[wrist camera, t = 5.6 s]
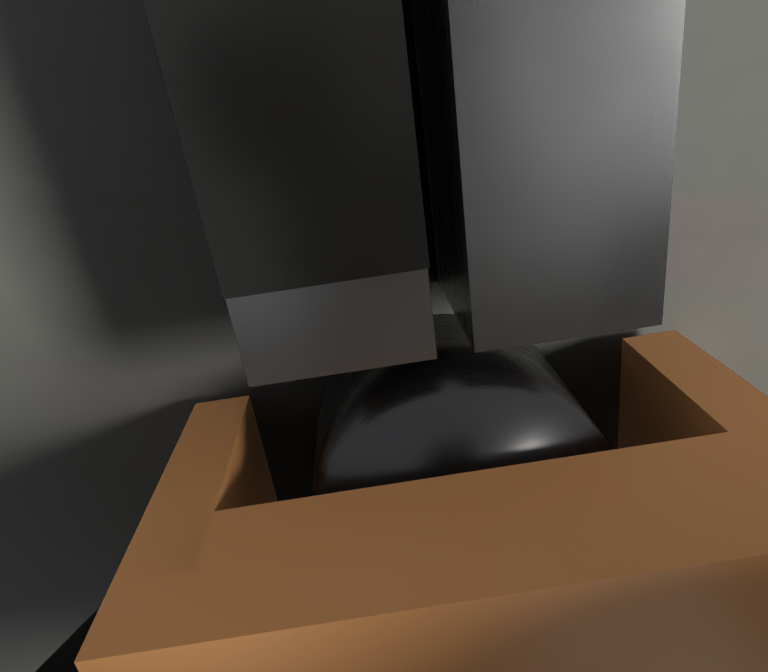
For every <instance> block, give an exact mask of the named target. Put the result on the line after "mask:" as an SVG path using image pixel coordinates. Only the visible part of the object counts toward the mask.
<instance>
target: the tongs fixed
mask: <svg viewBox="0 0 768 672" xmlns="http://www.w3.org/2000/svg"><path fill="white" fill-rule="evenodd" d="M685 4H686V0H411V9H412V19H413V29H414V39H415V49H416V59H417V69H418V79H419V89H420V99H421V109H422V119H423V129H424V139H425V149H426V159H427V169H428V179H429V189H430V199H431V209H432V219H433V229H434V239H435V249H436V259H437V269H438V279H439V283H440V285H441V287H442V289H443V291H444V293H445V295H446V297H447V299H448V301H449V303H450V305H451V307H452V309H453V311H454V313H455V315H451V314H444V315H433V323H434V332H435V342H436V351H437V359H432V360H425V361H419V362H412V363H406V364H399V365H393V366H386V367H380V368H373V369H366V370H360V371H353V372H347V373H340V374H334V376H333V377H332V379H331V381H330V383H329V385H328V387H327V389H326V391H325V393H324V396H323V399H322V402H321V405H320V410H319V416H318V424H317V438H316V451H315V465H314V478H313V492H312V496H316V495H323V494H329V493H335V492H342V491H348V490H355V489H361V488H368V487H374V486H381V485H387V484H394V483H400V482H407V481H413V480H420V479H426V478H433V477H439V476H446V475H452V474H459V473H465V472H472V471H478V470H485V469H491V468H497V467H504V466H510V465H517V464H523V463H530V462H536V461H543V460H549V459H556V458H562V457H569V456H575V455H582V454H588V453H595V452H601V451H608V450H614V448H613V447H612V445H611V444H610V443H609V441H608V440H607V439H606V437H605V436H604V435H603V434H602V432H601V431H600V430H599V428H598V427H597V426H596V424H595V423H594V422H593V420H592V419H591V418H590V416H589V415H588V414H587V413H586V411H585V410H584V409H583V407H582V406H581V405H580V403H579V402H578V401H577V399H576V398H575V397H574V395H573V394H572V393H571V392H570V390H569V389H568V388H567V386H566V385H565V384H564V382H563V381H562V380H561V378H560V377H559V376H558V374H557V373H556V372H555V371H554V369H553V368H552V367H551V365H550V364H549V363H548V361H547V360H546V359H545V358H544V356H543V355H542V354H541V353H540V352H539V351H538V349H537V348H536V347H535V346H534V345H533V344H537V343H543V342H550V341H557V340H563V339H570V338H576V337H583V336H589V335H596V334H602V333H609V332H616V331H622V330H629V329H635V328H642V327H648V326H655V325H661V324H662V316H663V303H664V289H665V276H666V262H667V248H668V235H669V221H670V208H671V194H672V181H673V167H674V154H675V140H676V126H677V113H678V99H679V86H680V72H681V59H682V45H683V31H684V18H685Z"/></svg>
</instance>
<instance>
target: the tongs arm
mask: <svg viewBox="0 0 768 672" xmlns="http://www.w3.org/2000/svg"><path fill="white" fill-rule="evenodd" d="M142 2H143V5H144V9H145V13H146V16H147V20H148V24H149V28H150V31H151V35H152V39H153V42H154V46H155V50H156V53H157V57H158V61H159V65H160V68H161V72H162V76H163V79H164V83H165V87H166V91H167V94H168V98H169V102H170V105H171V109H172V113H173V117H174V120H175V124H176V128H177V131H178V135H179V139H180V143H181V146H182V150H183V154H184V157H185V161H186V165H187V169H188V172H189V176H190V180H191V183H192V187H193V191H194V194H195V198H196V202H197V206H198V209H199V213H200V217H201V220H202V224H203V228H204V232H205V235H206V239H207V243H208V246H209V250H210V254H211V258H212V261H213V265H214V269H215V272H216V276H217V280H218V284H219V287H220V291H221V295H222V298H223V300H224V299H226V303H227V307H228V311H229V314H230V318H231V322H232V326H233V329H234V333H235V337H236V341H237V344H238V348H239V352H240V356H241V359H242V363H243V367H244V371H245V374H246V378H247V382H248V386H249V387H255V386H262V385H268V384H275V383H281V382H288V381H294V380H301V379H307V378H314V377H321V376H327V375H334V374H340V373H347V372H353V371H360V370H366V369H373V368H380V367H386V366H393V365H399V364H406V363H412V362H419V361H425V360H432V359H437V351H436V342H435V332H434V323H433V314H432V304H431V295H430V286H429V276H428V269H429V268H430V265H429V255H428V246H427V236H426V227H425V217H424V208H423V198H422V189H421V179H420V170H419V160H418V151H417V142H416V132H415V123H414V113H413V104H412V94H411V85H410V75H409V66H408V56H407V47H406V38H405V28H404V19H403V9H402V0H142Z"/></svg>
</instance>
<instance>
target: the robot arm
mask: <svg viewBox="0 0 768 672" xmlns="http://www.w3.org/2000/svg"><path fill="white" fill-rule="evenodd" d="M99 608H100V607H99ZM99 608H98V609H97V610H96V611H95V612H94V613H93V614H92V615H91V616H90V617H89V618H88V619H87V620H86V621H85V622H84V623H83V624H82V625H81V626H80V627H79V628H78V629H77V630H76V631H75V632H74V633H73V634H72V635H71V636H70V637H69V638H68V639H67V640H66V641H65V642H64V643H63V644H62V645H61V646H60V647H59V648H58V649H57V650H56V651H55V652H54V653H53V654H52V655H51V656H50V657H49V658H48V659H47V660H46V661H45V662H44V663H43V664H42V665H41V666H40V667H39V668H38V669H37V670H36V671H35V672H79V671H78V669H77V667H76V665H75V664H74V661H75V659H76V657H77V655H78V653H79V651H80V648H81V646H82V644H83V642H84V640H85V638H86V636H87V634H88V631H89V629H90V627H91V625H92V623H93V621H94V619H95V617H96V614H97V612H98V610H99Z"/></svg>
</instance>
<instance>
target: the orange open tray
mask: <svg viewBox="0 0 768 672" xmlns="http://www.w3.org/2000/svg"><path fill="white" fill-rule="evenodd" d="M74 664H75V665H76V667H77V669H78V671H79V672H768V396H766V395H765V394H764V393H762V392H761V391H759V390H758V389H757V388H755V387H754V386H752V385H751V384H750V383H748V382H747V381H745V380H744V379H743V378H741V377H740V376H738V375H737V374H736V373H734V372H733V371H732V370H730V369H729V368H727V367H726V366H725V365H723V364H722V363H720V362H719V361H718V360H716V359H715V358H713V357H712V356H711V355H709V354H708V353H706V352H705V351H704V350H702V349H701V348H699V347H698V346H697V345H695V344H694V343H692V342H691V341H690V340H688V339H687V338H685V337H684V336H683V335H681V334H680V333H678V332H677V331H676V330H674V331H667V332H661V333H654V334H648V335H641V336H634V337H628V338H622V358H621V381H620V404H619V428H618V449H614V450H608V451H601V452H595V453H588V454H582V455H575V456H569V457H562V458H556V459H549V460H543V461H536V462H530V463H523V464H517V465H510V466H504V467H497V468H491V469H485V470H478V471H472V472H465V473H459V474H452V475H446V476H439V477H433V478H426V479H420V480H413V481H407V482H400V483H394V484H387V485H381V486H374V487H368V488H361V489H355V490H348V491H342V492H335V493H329V494H323V495H316V496H310V497H303V498H297V499H290V500H284V501H278V500H277V497H276V493H275V489H274V485H273V482H272V478H271V474H270V471H269V467H268V463H267V459H266V456H265V452H264V448H263V445H262V441H261V437H260V433H259V430H258V426H257V422H256V418H255V415H254V411H253V407H252V404H251V400H250V396H249V395H248V396H241V397H235V398H228V399H222V400H215V401H209V402H202V403H196V404H195V406H194V408H193V410H192V412H191V414H190V416H189V419H188V421H187V423H186V425H185V427H184V429H183V431H182V434H181V436H180V438H179V440H178V442H177V444H176V446H175V448H174V451H173V453H172V455H171V457H170V459H169V461H168V463H167V465H166V468H165V470H164V472H163V474H162V476H161V478H160V480H159V482H158V485H157V487H156V489H155V491H154V493H153V495H152V497H151V499H150V502H149V504H148V506H147V508H146V510H145V512H144V514H143V517H142V519H141V521H140V523H139V525H138V527H137V529H136V531H135V534H134V536H133V538H132V540H131V542H130V544H129V546H128V548H127V551H126V553H125V555H124V557H123V559H122V561H121V563H120V565H119V568H118V570H117V572H116V574H115V576H114V578H113V580H112V582H111V585H110V587H109V589H108V591H107V593H106V595H105V597H104V599H103V602H102V604H101V606H100V608H99V610H98V612H97V614H96V617H95V619H94V621H93V623H92V625H91V627H90V629H89V631H88V634H87V636H86V638H85V640H84V642H83V644H82V646H81V648H80V651H79V653H78V655H77V657H76V659H75V661H74Z"/></svg>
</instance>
